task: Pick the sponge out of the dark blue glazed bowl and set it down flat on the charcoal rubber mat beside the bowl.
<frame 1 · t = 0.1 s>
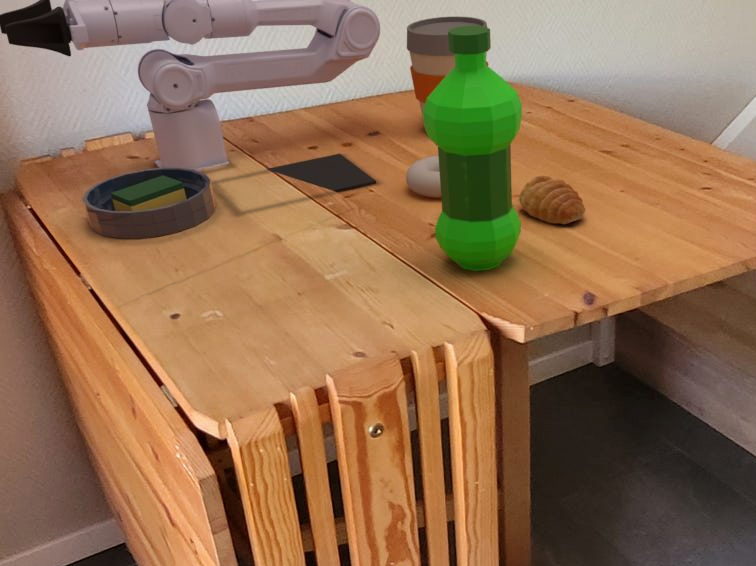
hand: (3, 29, 125), 22 cm above the table, tool horizontal, fingers open, 7 cm apart
donut: (443, 189, 133), on the table
plastic bottle: (479, 262, 114), on the table
reusable coffee cup: (452, 129, 154), on the table
bowl: (154, 218, 129), on the table
sponge: (153, 214, 128), point 1 cm above the table, touching bowl
pastry: (553, 213, 124), on the table
drying mat: (292, 183, 137), on the table
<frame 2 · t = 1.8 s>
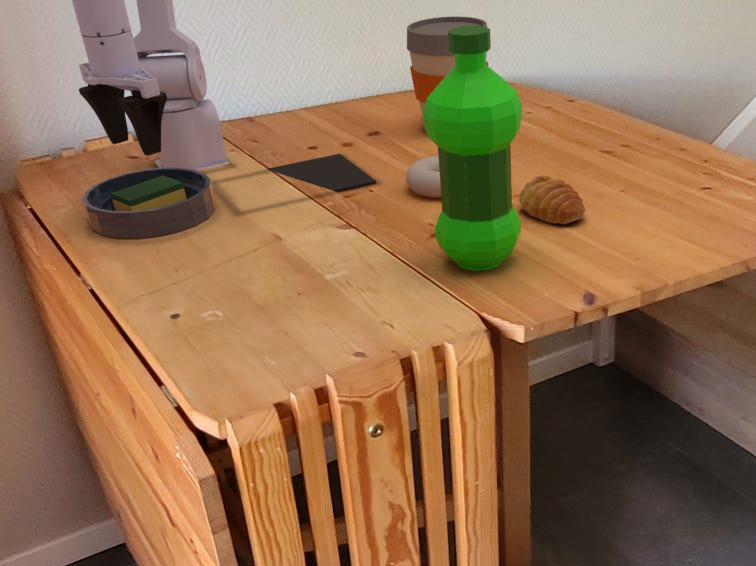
hand: (136, 147, 123), 9 cm above the table, tool pointing down, fingers open, 7 cm apart
nothing on the table moved.
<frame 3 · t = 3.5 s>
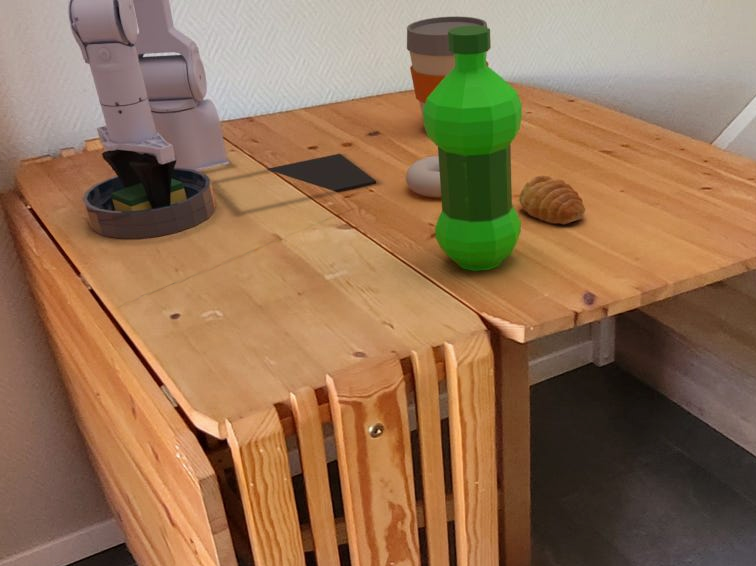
hand: (151, 206, 128), 2 cm above the table, tool pointing down, fingers closed on sponge, 4 cm apart
sponge: (153, 214, 128), point 1 cm above the table, touching bowl, gripper
everything else where it was.
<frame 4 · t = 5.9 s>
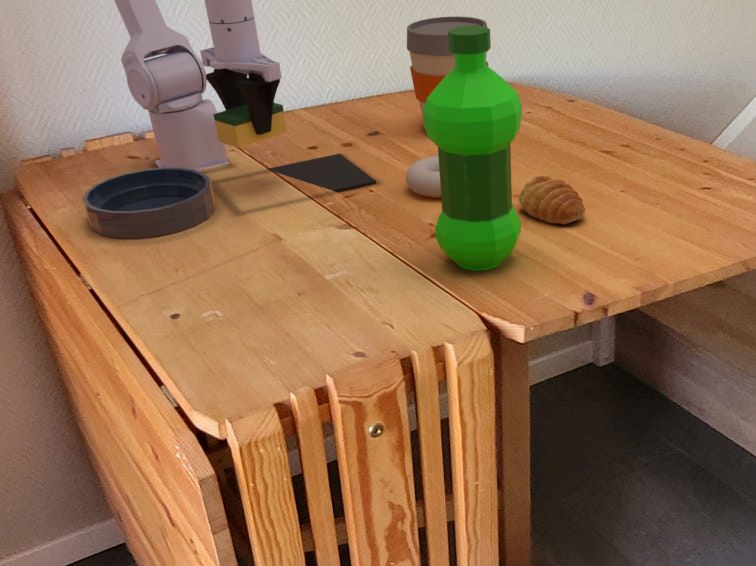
hand: (252, 129, 130), 8 cm above the table, tool pointing down, fingers closed on sponge, 4 cm apart
sponge: (253, 137, 131), point 7 cm above the table, touching gripper
everything else where it was.
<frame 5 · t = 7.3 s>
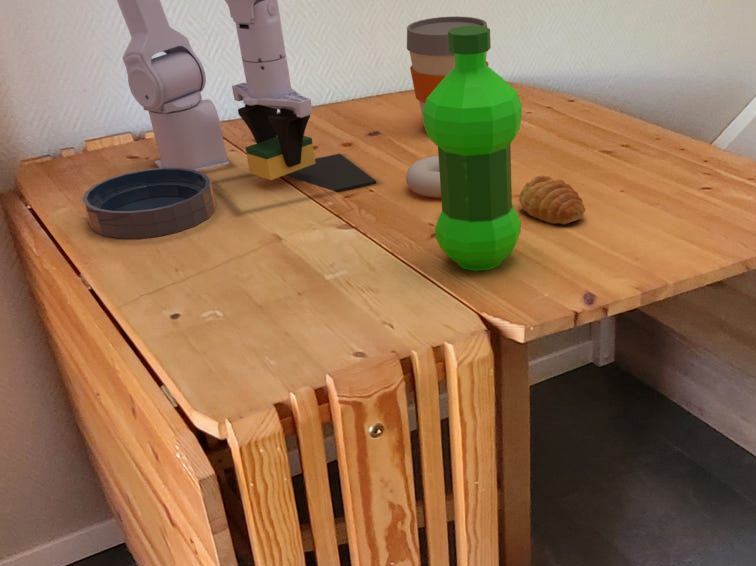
hand: (281, 161, 135), 3 cm above the table, tool pointing down, fingers closed on sponge, 4 cm apart
sponge: (283, 168, 135), point 2 cm above the table, touching gripper
everything else where it was.
when the fingers open (1 cm above the table, at t = 8.4 s): sponge stays where it is, resting on drying mat.
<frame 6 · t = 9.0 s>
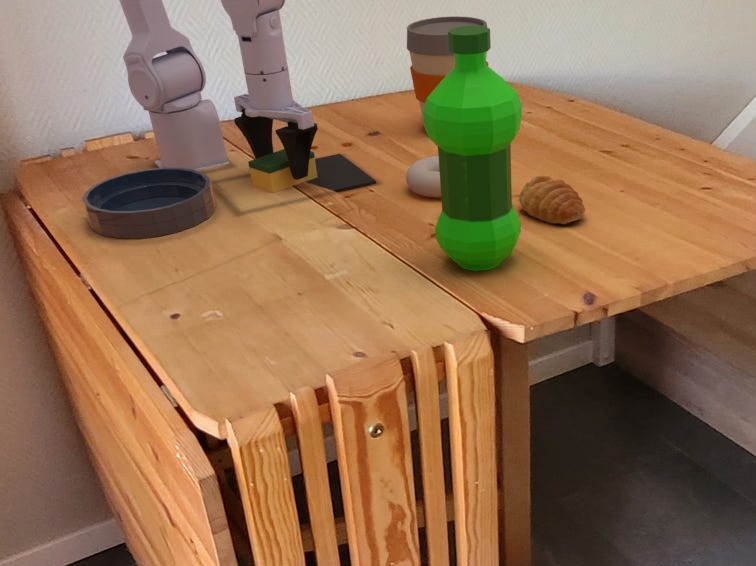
hand: (283, 171, 135), 2 cm above the table, tool pointing down, fingers open, 7 cm apart
sponge: (285, 182, 136), resting on drying mat
everything else where it was.
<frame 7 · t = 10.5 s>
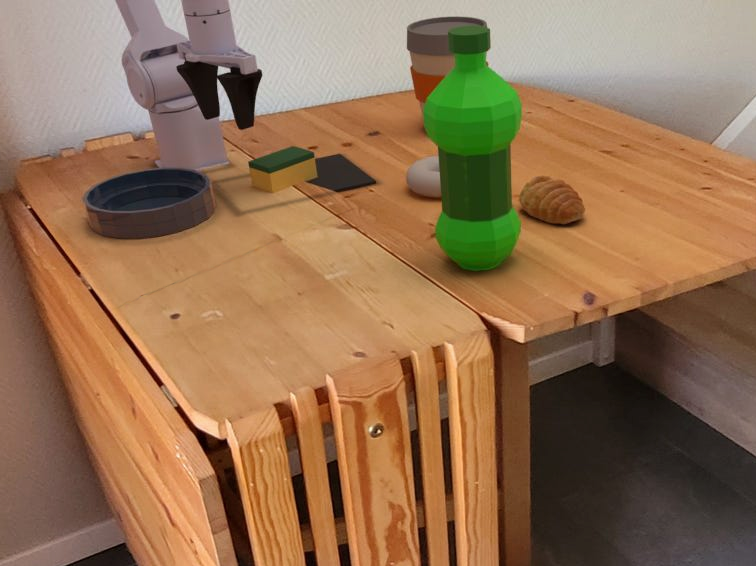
hand: (229, 122, 129), 9 cm above the table, tool pointing down, fingers open, 7 cm apart
nothing on the table moved.
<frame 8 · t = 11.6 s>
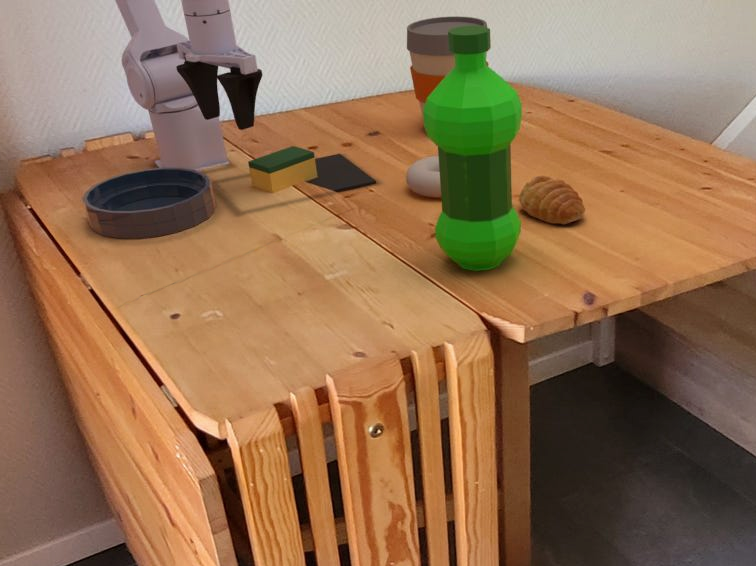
hand: (229, 122, 129), 9 cm above the table, tool pointing down, fingers open, 7 cm apart
nothing on the table moved.
at the end: sponge inside the target area on the drying mat (1.0 cm from its centre), point 0.4 cm above the drying mat's base; sponge touching drying mat; sponge tilted 0° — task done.
